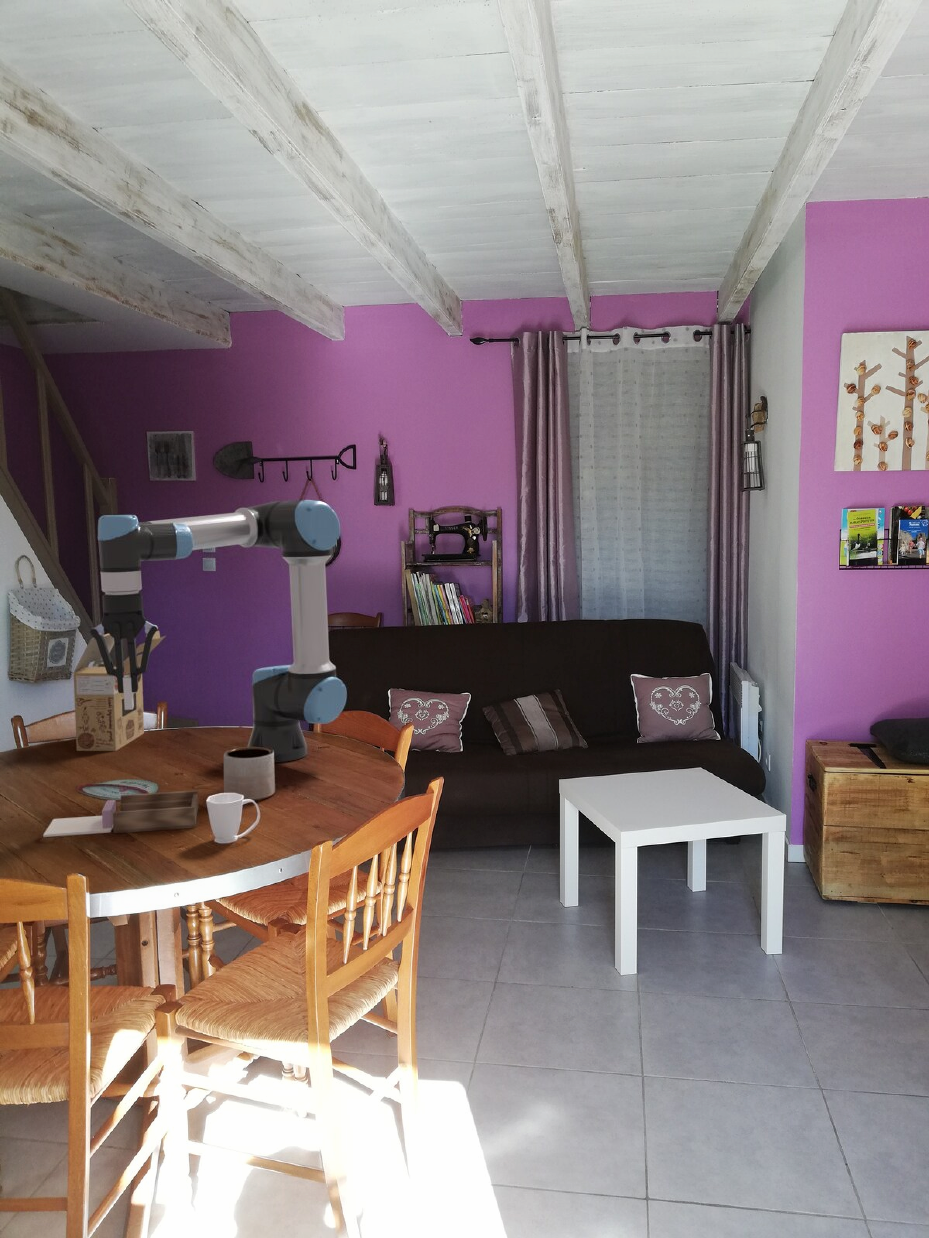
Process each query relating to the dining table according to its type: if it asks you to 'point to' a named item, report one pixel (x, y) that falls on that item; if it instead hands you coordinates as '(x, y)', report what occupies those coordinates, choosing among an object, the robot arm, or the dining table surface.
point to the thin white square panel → (84, 823)
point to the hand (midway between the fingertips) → (129, 708)
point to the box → (106, 701)
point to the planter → (249, 772)
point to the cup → (227, 816)
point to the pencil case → (156, 811)
